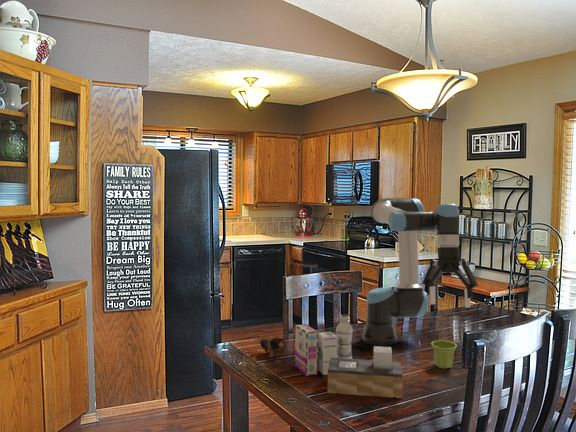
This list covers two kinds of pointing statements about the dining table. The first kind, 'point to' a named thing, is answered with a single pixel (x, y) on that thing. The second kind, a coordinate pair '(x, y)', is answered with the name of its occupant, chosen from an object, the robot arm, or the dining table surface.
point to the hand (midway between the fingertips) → (449, 305)
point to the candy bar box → (306, 349)
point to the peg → (382, 358)
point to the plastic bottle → (344, 337)
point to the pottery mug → (273, 346)
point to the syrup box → (326, 350)
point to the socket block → (364, 379)
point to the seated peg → (347, 364)
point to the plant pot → (443, 353)
